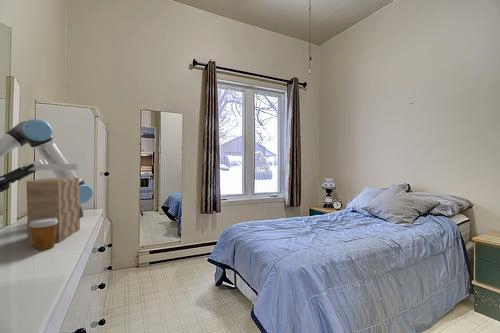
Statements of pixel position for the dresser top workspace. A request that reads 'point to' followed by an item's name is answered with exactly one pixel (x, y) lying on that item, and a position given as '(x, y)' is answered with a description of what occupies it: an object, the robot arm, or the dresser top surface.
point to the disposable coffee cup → (43, 233)
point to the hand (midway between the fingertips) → (43, 161)
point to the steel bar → (56, 167)
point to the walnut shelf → (54, 204)
